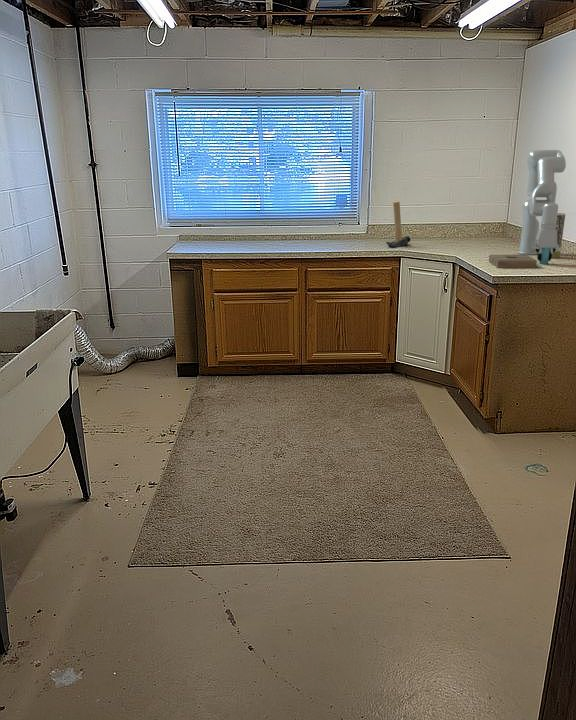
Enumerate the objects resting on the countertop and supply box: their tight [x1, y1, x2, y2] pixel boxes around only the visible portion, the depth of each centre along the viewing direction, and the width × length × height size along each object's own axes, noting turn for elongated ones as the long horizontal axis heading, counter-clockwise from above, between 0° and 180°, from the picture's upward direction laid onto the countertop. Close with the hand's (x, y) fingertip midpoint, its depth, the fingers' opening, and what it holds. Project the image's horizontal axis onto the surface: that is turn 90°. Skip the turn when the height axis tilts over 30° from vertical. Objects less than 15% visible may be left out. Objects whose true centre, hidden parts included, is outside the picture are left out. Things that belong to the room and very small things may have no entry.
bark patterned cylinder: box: [551, 212, 566, 259], centre depth 343 cm, size 7×7×25 cm
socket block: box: [488, 254, 538, 269], centre depth 326 cm, size 20×20×4 cm
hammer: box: [385, 200, 411, 248], centre depth 394 cm, size 20×5×30 cm, turn 133°
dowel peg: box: [538, 248, 550, 265], centre depth 326 cm, size 4×4×9 cm
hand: (544, 260), depth 327 cm, fingers closed on dowel peg, 4 cm apart
